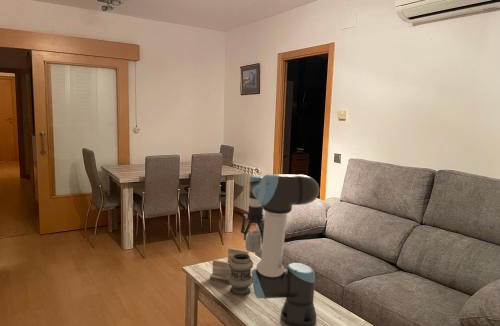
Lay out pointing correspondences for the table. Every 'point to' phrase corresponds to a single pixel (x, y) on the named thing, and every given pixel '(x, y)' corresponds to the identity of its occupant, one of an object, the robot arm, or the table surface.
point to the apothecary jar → (240, 274)
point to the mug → (253, 241)
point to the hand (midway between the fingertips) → (254, 247)
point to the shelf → (224, 267)
